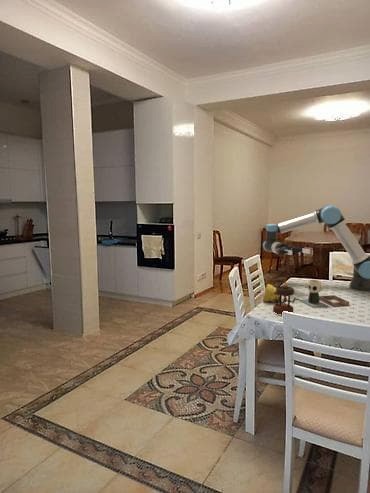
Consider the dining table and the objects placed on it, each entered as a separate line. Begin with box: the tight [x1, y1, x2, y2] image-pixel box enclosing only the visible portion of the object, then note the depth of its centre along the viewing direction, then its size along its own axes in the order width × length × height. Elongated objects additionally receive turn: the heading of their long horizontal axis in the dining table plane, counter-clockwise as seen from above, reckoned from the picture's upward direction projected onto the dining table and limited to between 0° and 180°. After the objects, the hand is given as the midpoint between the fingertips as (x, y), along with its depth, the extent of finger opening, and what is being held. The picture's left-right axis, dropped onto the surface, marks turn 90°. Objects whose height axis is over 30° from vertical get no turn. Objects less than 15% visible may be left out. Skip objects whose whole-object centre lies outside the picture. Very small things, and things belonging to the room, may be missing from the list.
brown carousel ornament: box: [262, 283, 280, 303], centre depth 208 cm, size 10×10×10 cm
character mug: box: [305, 279, 325, 303], centre depth 205 cm, size 11×7×13 cm, turn 43°
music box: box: [272, 276, 301, 316], centre depth 187 cm, size 15×11×20 cm
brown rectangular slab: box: [319, 294, 350, 307], centre depth 208 cm, size 11×15×2 cm
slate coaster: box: [299, 298, 329, 308], centre depth 206 cm, size 10×14×1 cm
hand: (301, 252), depth 215 cm, fingers open, 13 cm apart
